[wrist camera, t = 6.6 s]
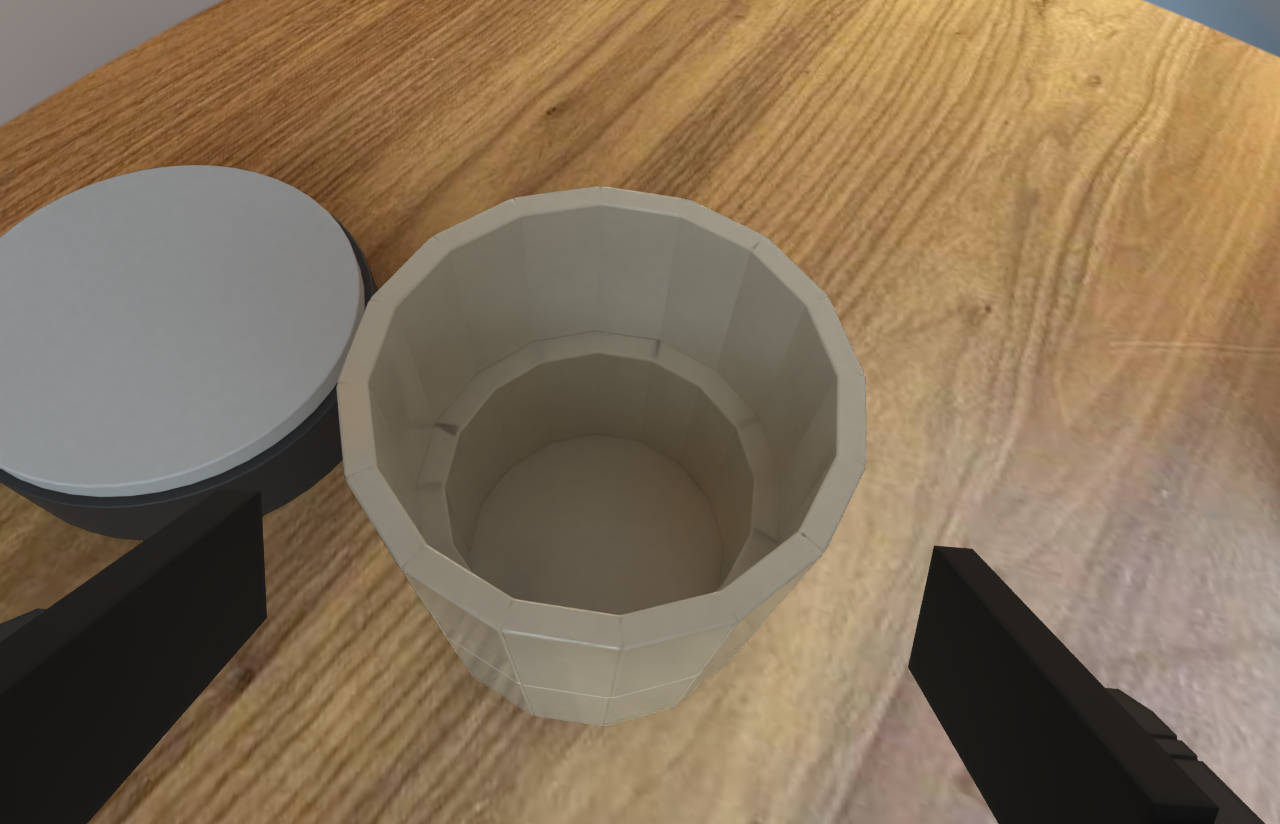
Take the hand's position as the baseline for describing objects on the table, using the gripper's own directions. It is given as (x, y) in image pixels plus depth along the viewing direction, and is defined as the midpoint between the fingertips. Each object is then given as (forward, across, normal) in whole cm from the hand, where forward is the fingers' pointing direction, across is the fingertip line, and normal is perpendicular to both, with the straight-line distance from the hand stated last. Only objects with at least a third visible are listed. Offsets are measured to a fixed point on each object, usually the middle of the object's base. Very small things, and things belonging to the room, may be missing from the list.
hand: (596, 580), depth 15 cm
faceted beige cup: (+9, 0, -4) cm, 10 cm away
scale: (+13, -15, 0) cm, 20 cm away
